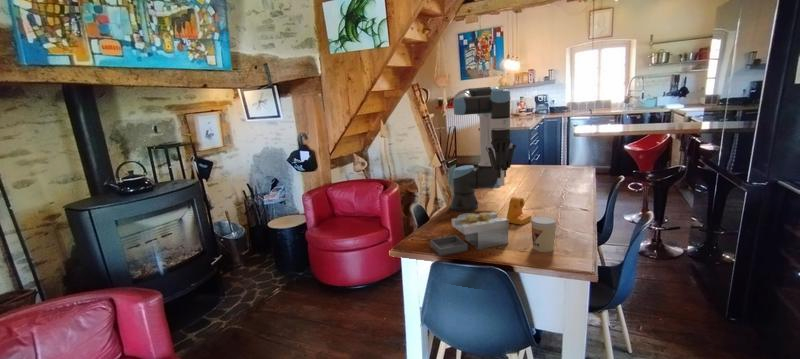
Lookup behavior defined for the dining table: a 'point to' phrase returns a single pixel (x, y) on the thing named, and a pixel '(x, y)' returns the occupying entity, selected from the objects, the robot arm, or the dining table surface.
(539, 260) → the dining table surface
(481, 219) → the tan cube
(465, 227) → the rail block
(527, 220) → the bracket
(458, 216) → the bowl
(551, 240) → the coffee cup
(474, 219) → the chip
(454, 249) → the tray
